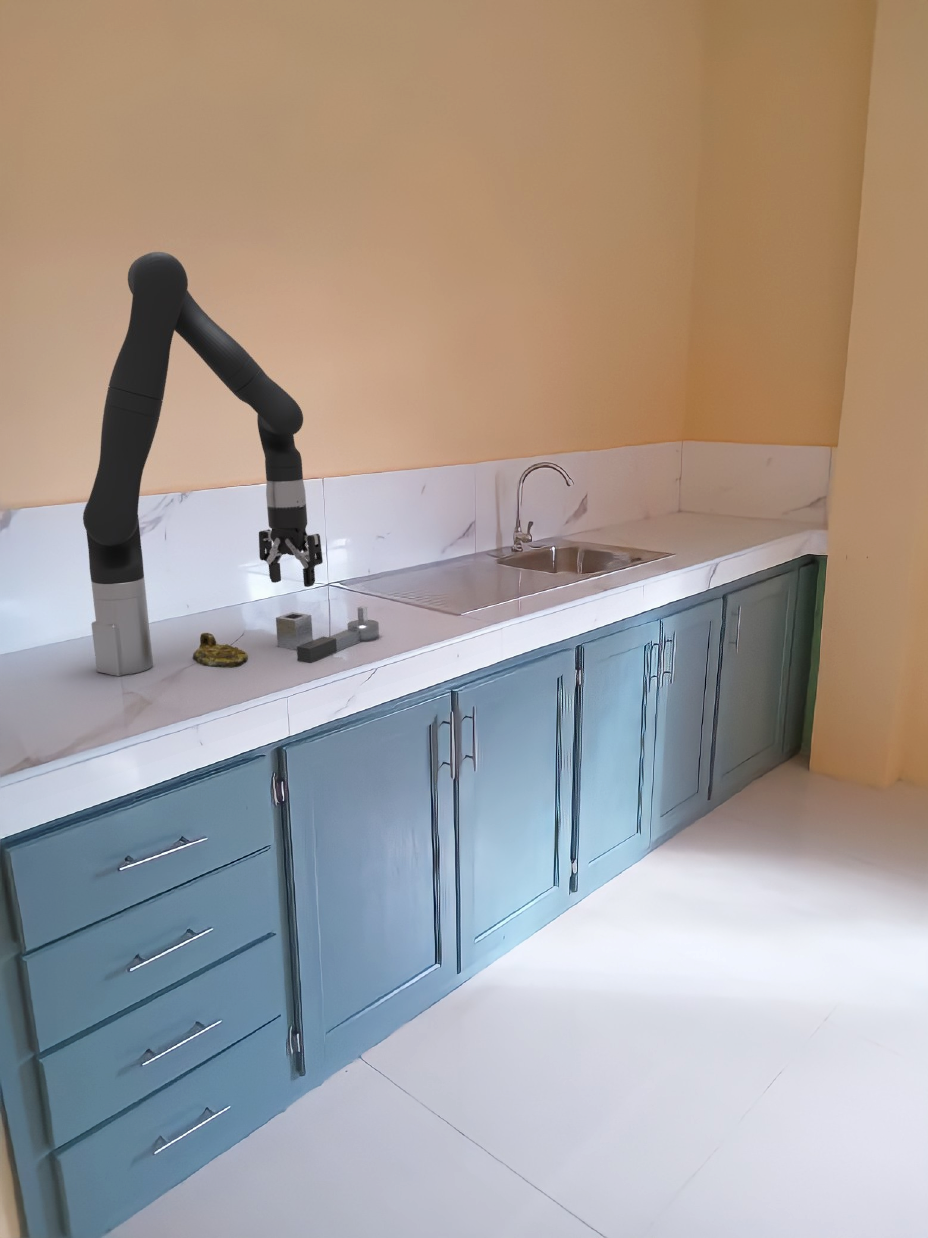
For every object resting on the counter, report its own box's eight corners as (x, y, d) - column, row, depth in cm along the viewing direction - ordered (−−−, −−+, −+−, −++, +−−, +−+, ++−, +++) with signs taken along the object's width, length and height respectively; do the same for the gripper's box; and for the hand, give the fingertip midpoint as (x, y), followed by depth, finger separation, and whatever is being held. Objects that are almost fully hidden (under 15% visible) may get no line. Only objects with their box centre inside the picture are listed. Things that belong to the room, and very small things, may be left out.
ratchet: (360, 631, 200) (359, 602, 198) (385, 635, 197) (384, 605, 195) (291, 659, 182) (289, 626, 180) (317, 664, 178) (315, 631, 177)
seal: (261, 668, 181) (221, 651, 192) (262, 644, 180) (222, 628, 191) (218, 673, 175) (178, 656, 185) (219, 648, 174) (179, 632, 184)
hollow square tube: (296, 649, 188) (295, 620, 186) (277, 646, 190) (275, 617, 189) (312, 643, 192) (311, 615, 190) (294, 640, 194) (292, 612, 193)
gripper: (245, 503, 184) (252, 584, 188) (302, 507, 177) (308, 591, 181) (272, 498, 190) (278, 577, 195) (327, 502, 183) (332, 583, 187)
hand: (292, 583), depth 188 cm, fingers open, 8 cm apart
